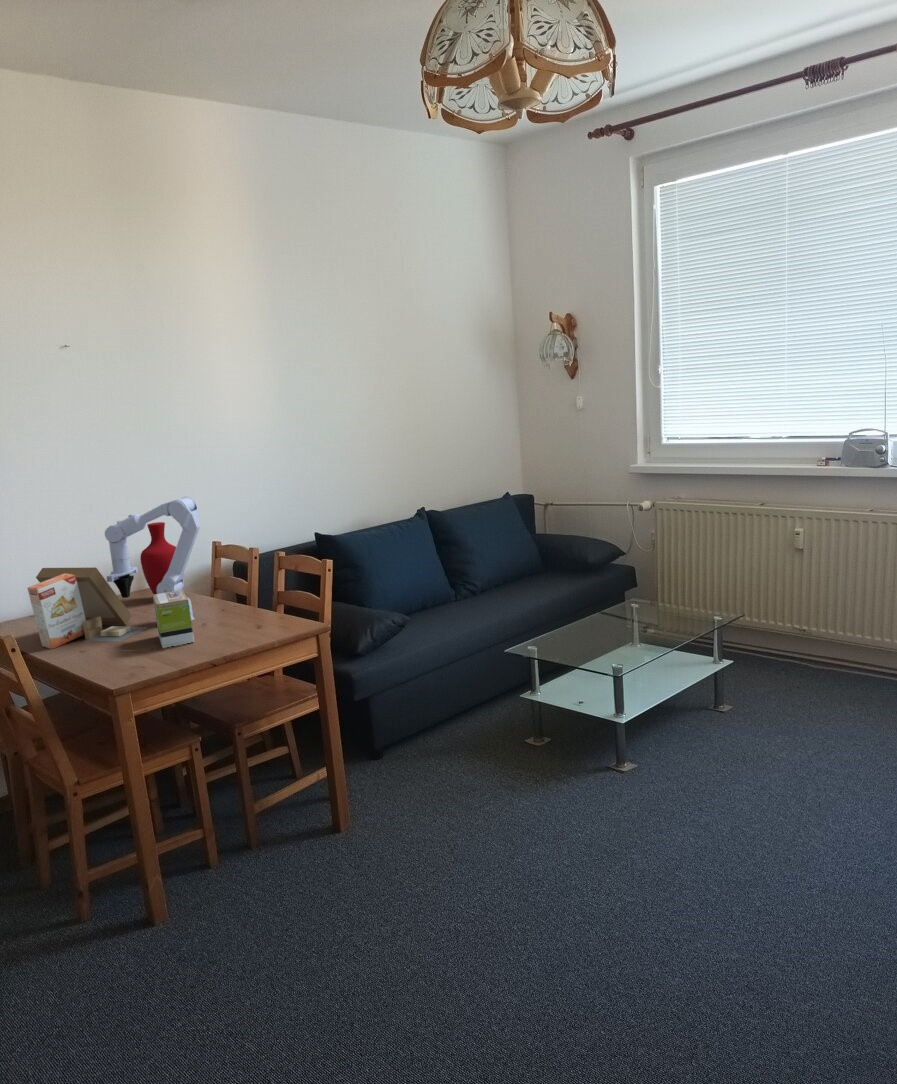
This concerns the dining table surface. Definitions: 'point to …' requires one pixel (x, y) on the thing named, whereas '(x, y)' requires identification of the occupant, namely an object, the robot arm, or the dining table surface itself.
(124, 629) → the tile teal
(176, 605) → the tea box
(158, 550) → the vase
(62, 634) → the cracker box
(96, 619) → the tile plain
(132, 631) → the felt mat
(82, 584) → the photo frame
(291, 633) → the dining table surface
